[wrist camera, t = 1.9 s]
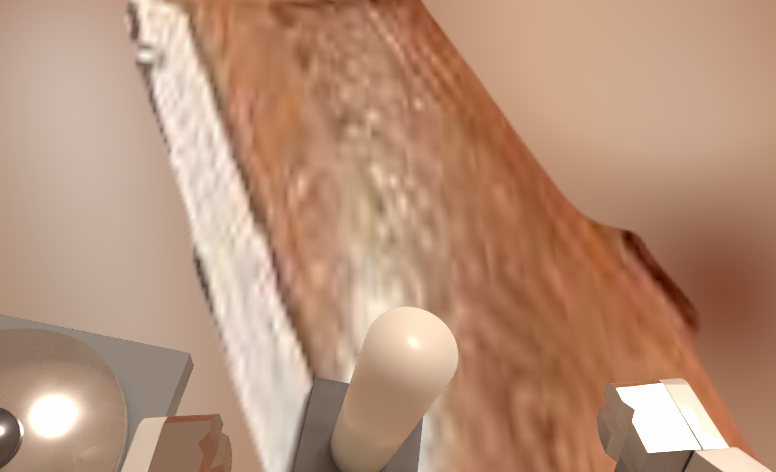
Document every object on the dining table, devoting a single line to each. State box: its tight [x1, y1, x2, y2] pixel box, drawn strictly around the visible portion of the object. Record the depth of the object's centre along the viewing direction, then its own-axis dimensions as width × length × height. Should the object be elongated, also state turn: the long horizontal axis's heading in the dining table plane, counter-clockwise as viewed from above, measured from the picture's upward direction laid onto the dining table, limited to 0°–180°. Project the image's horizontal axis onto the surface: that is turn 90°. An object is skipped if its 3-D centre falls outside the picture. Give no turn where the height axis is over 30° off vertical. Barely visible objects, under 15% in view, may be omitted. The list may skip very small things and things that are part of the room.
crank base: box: [0, 314, 194, 456], centre depth 28 cm, size 14×14×2 cm
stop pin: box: [330, 307, 458, 472], centre depth 26 cm, size 4×4×14 cm
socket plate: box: [293, 377, 423, 472], centre depth 32 cm, size 7×7×1 cm
